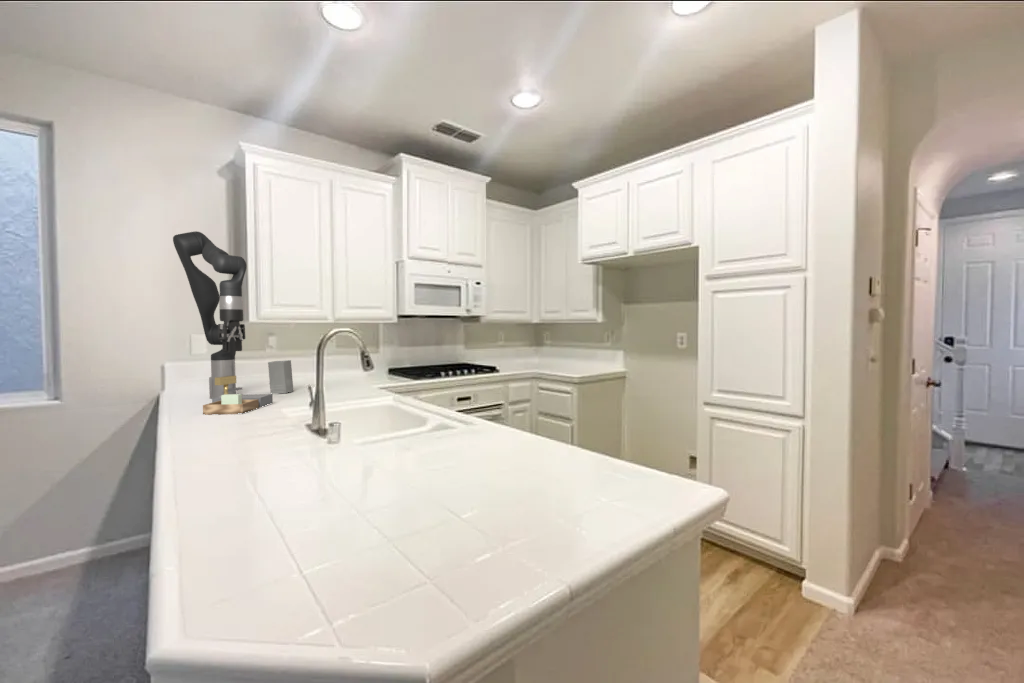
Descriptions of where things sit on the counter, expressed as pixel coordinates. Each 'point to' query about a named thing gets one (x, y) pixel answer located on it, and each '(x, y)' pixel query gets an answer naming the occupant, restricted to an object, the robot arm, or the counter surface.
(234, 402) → the cover
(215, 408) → the tray
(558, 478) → the counter surface
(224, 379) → the key
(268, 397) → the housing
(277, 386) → the skincare box
